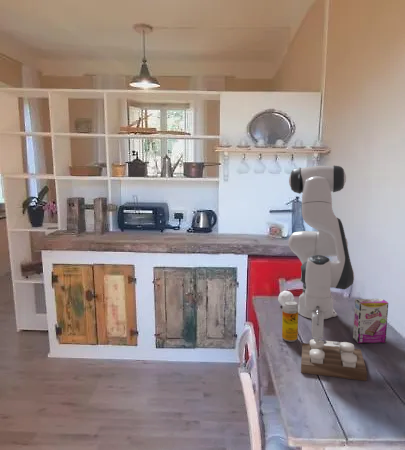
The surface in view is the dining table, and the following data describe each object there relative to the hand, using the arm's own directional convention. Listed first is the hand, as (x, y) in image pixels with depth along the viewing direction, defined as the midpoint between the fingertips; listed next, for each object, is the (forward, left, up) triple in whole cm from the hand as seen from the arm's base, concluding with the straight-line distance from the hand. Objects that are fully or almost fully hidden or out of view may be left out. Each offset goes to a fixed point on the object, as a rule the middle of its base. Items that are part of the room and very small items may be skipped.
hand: (316, 340), depth 132 cm
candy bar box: (-19, +20, -7) cm, 29 cm away
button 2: (0, +10, -5) cm, 11 cm away
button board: (+4, +5, -7) cm, 9 cm away
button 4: (+8, +10, -5) cm, 14 cm away
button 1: (0, 0, -5) cm, 5 cm away
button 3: (+8, 0, -5) cm, 9 cm away
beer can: (-13, -10, -7) cm, 18 cm away
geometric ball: (-51, -14, -7) cm, 54 cm away
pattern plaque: (-10, +5, -7) cm, 13 cm away
